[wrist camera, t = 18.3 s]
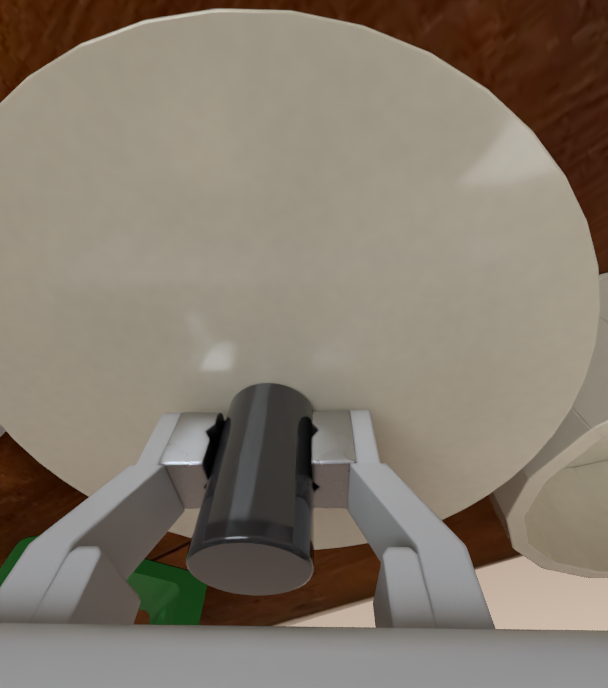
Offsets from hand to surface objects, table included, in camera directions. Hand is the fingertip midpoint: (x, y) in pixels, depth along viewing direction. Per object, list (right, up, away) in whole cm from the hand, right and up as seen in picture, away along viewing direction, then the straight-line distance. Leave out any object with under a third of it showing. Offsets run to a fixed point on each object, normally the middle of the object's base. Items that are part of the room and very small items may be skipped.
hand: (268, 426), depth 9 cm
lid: (0, +1, +1) cm, 1 cm away
